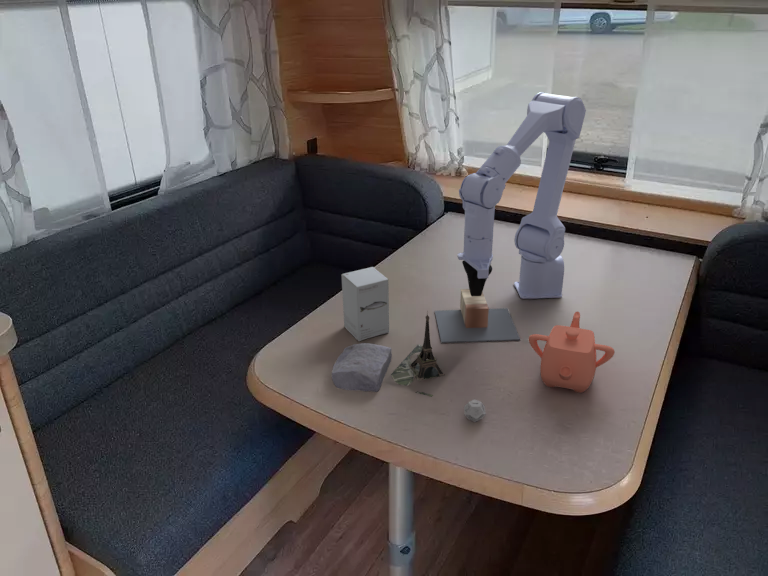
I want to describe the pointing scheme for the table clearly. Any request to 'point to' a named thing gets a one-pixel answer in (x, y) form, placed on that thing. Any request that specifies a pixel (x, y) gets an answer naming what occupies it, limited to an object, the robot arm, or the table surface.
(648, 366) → the table surface
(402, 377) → the eiffel tower figurine
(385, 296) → the supplement box
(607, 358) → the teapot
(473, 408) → the game die
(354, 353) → the stone block
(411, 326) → the table surface
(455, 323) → the mat
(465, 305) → the tall block
